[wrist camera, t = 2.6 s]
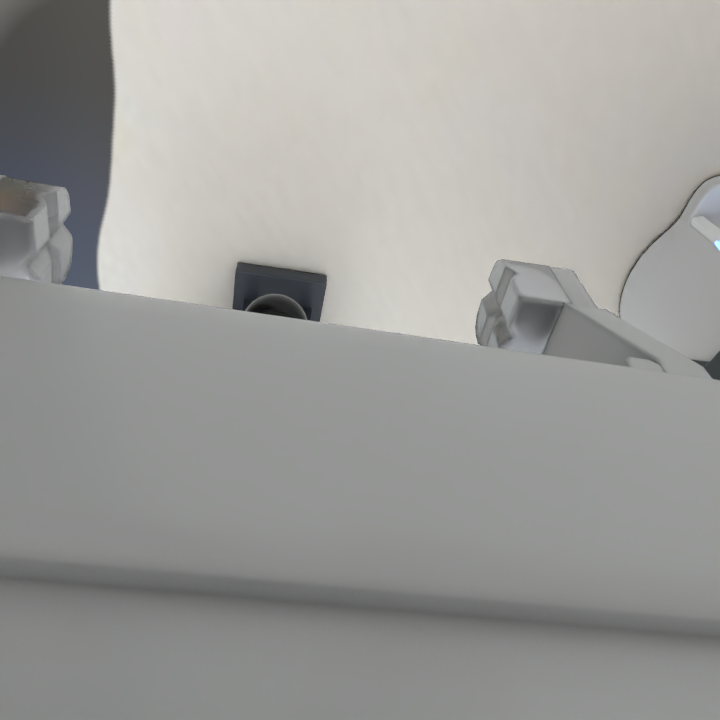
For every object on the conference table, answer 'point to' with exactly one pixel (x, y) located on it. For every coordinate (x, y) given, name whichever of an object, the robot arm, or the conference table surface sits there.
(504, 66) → the conference table surface
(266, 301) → the flush lever
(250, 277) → the dark grey upright bracket
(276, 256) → the conference table surface
